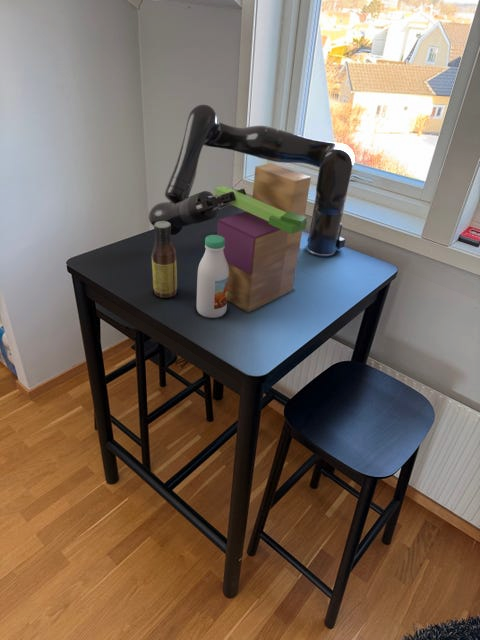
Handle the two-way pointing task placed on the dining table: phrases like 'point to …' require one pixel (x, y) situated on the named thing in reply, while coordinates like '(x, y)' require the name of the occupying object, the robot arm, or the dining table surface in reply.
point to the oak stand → (271, 241)
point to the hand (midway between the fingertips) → (239, 194)
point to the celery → (266, 211)
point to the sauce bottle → (164, 261)
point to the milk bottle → (213, 279)
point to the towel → (242, 238)
